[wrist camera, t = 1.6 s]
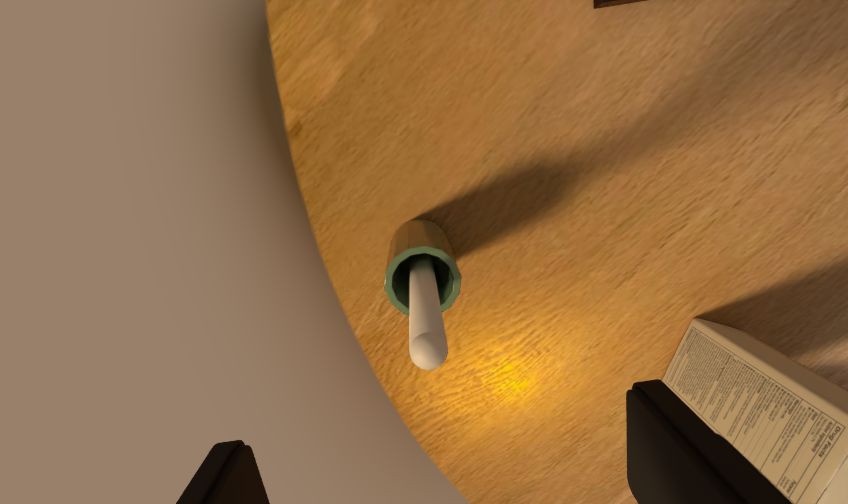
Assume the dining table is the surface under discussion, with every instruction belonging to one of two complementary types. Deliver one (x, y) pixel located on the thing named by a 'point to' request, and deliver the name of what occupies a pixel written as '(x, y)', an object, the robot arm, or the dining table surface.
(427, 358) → the stylus
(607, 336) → the dining table surface
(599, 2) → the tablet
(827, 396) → the cosmetic box
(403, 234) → the pen pot
